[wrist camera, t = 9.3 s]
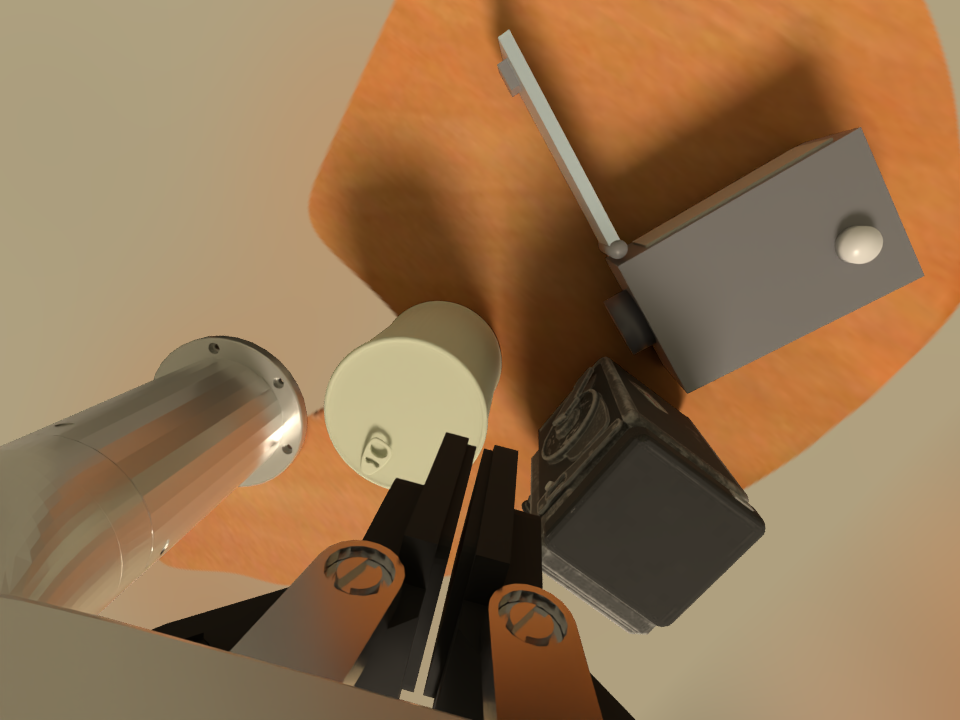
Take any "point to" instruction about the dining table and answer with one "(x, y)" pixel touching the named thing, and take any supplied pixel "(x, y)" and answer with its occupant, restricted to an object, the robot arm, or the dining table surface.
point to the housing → (763, 261)
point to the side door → (557, 144)
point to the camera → (634, 502)
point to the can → (413, 392)
